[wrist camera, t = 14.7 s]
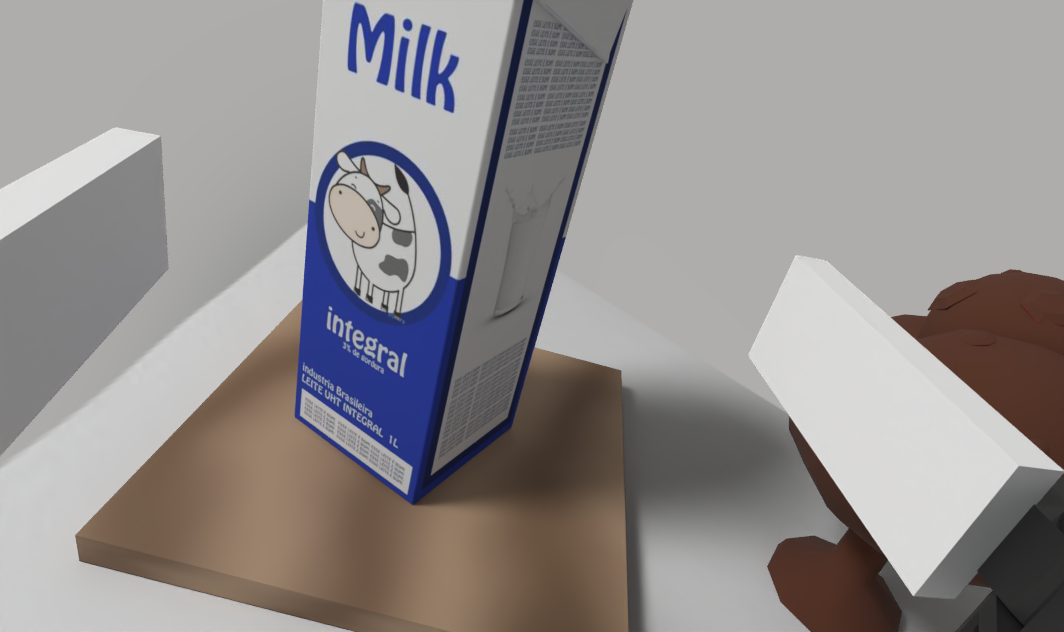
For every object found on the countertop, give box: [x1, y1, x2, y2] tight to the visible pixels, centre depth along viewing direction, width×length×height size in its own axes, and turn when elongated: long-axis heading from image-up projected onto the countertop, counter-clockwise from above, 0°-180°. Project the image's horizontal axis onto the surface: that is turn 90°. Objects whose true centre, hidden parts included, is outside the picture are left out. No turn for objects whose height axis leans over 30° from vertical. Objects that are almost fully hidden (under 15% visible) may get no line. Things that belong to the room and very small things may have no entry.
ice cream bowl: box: [767, 269, 1064, 632], centre depth 23 cm, size 11×11×15 cm
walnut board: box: [75, 301, 628, 632], centre depth 28 cm, size 18×18×1 cm
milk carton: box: [294, 0, 633, 504], centre depth 23 cm, size 7×7×20 cm
